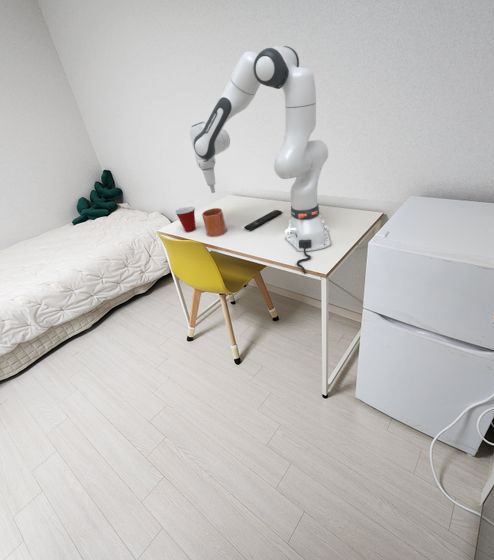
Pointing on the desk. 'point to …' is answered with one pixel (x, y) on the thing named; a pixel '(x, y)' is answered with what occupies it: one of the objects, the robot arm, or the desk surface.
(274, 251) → the desk surface
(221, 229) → the terracotta cup
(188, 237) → the desk surface
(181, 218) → the plastic cup
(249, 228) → the remote control
